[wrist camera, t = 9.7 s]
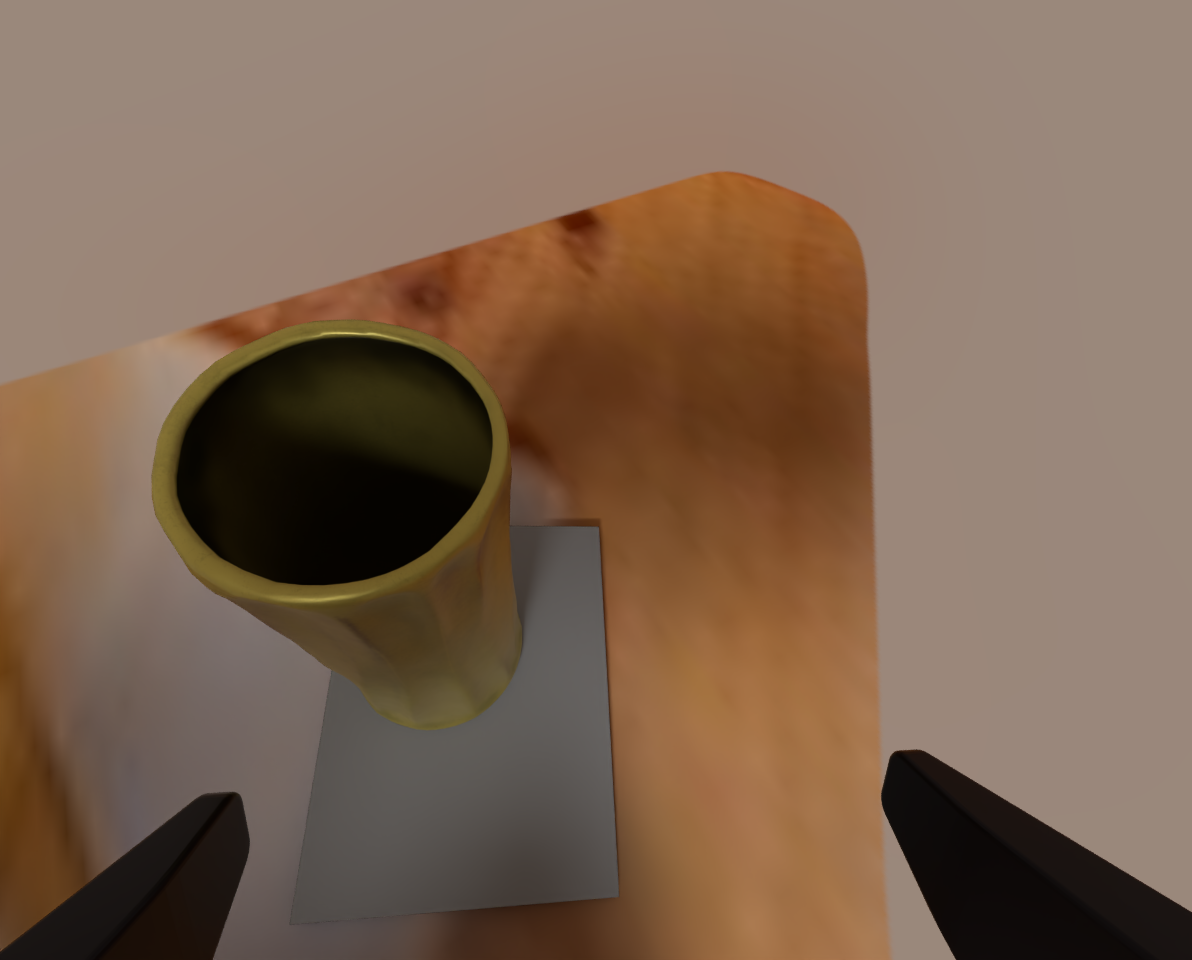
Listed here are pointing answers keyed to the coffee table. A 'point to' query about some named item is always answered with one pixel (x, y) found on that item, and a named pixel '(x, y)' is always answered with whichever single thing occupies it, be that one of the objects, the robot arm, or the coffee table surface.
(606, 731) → the mat
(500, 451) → the vase
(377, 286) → the coffee table surface
